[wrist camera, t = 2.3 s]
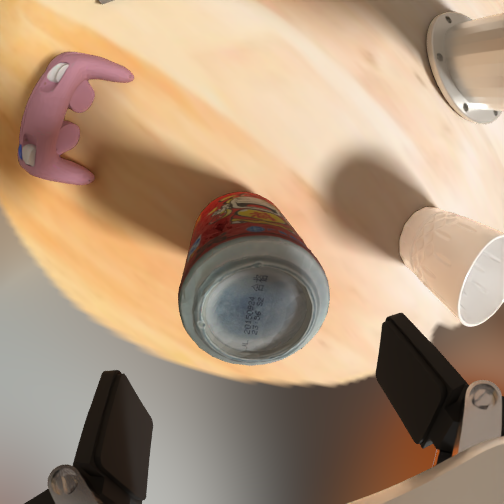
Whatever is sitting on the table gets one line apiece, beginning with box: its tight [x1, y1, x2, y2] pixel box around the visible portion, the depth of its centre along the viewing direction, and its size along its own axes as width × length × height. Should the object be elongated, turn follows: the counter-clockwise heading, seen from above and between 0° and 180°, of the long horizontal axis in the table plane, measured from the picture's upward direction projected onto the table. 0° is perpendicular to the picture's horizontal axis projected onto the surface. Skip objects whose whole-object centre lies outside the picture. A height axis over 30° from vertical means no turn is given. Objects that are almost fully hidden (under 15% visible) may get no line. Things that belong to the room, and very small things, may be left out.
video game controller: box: [18, 52, 134, 185], centre depth 17 cm, size 10×5×7 cm, turn 155°
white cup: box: [399, 207, 504, 326], centre depth 22 cm, size 8×8×10 cm
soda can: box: [178, 192, 330, 365], centre depth 18 cm, size 7×7×12 cm
